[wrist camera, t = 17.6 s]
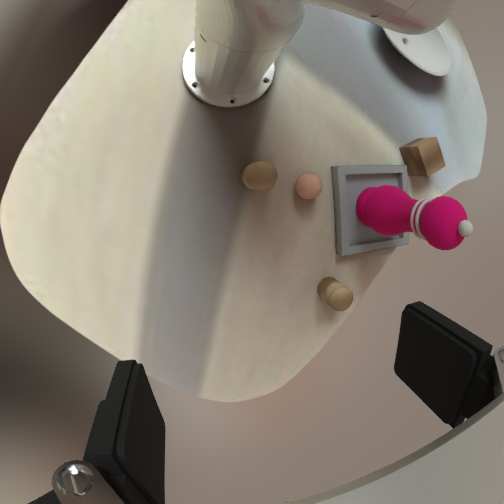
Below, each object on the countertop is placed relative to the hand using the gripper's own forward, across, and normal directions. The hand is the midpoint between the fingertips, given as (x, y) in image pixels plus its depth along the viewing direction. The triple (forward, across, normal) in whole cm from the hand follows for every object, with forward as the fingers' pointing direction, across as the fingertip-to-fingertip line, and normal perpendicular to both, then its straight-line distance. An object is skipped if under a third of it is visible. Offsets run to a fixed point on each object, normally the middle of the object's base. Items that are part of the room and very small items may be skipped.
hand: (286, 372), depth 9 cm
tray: (+32, -24, 0) cm, 40 cm away
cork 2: (+32, -16, +12) cm, 38 cm away
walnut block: (+32, -34, -8) cm, 48 cm away
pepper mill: (+32, -24, 0) cm, 40 cm away
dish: (+33, -36, -30) cm, 57 cm away
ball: (+31, -13, -4) cm, 33 cm away
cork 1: (+32, -6, -6) cm, 33 cm away
